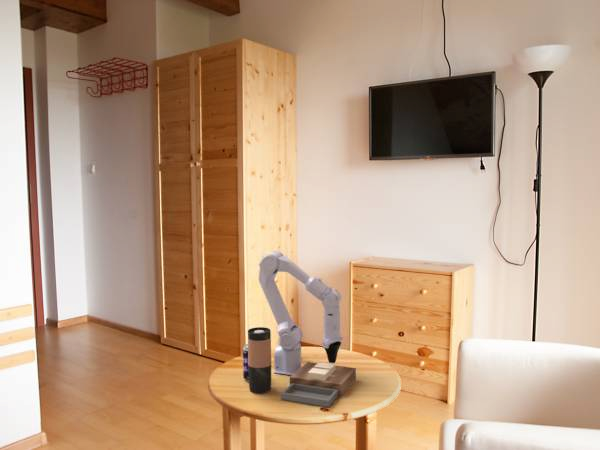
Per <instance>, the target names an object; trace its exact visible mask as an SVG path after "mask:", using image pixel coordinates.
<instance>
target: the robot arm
mask: <svg viewBox="0 0 600 450" xmlns="http://www.w3.org/2000/svg"><path fill="white" fill-rule="evenodd" d="M258 266H259V270H258V271H259V272H258V273H259V275H258V281H259V284H260V286H261V289H262V291H263V294H264V296H265V298H266V300H267V303H268V305H269V308H270V310H271V312H272V315H273V317H274V320H275V322H276V325H277V334H278V337H279V342H280V345H281V346H278V345H277V346H276V347H275V349H274V353H273V358H274V359H273V361H274V362H273V363H274V365H273V367H274V369H273V373H274V374H280V375H287V376H292V375H293V374H294V373H295V372H296V371H298V370H299V369H300V368H301V367H302V345H301V341H302V339H303V331H302V329H300V328H299V326H298V325H297V324H296V322H295V321H294V319H292V317H291V315H290V313H289V310H288V309H287V306H286V304H285V301H284V299H283V297H282V294H281V293H280V289H279V288H278V286H277V282H276V281H275V278H276V276H277V274H278V272H280V273H281V272H282V273H288V274H289V275H291V276H292V277H293V278H295V279H297V280H298V281H300V282H301V283H302V284H304V286H305V290H306V291H308V293H309V294H311V295H312V296H313V297H315V298H316V299H317V300H319V301H321V304H322V306H323V337H322V338H323V339H322V340H323V341H322V343H321V344H322V349H324V350H325V353H326V356H327V361H328V363H329V364H335V363H336V362H337V357H338V352H339V351H340V347H341V345H342V341H343V340H344V337H342V332H341V311H340V309H341V308H340V303H341V301H342V295H341V293H340V292H339V291H338V289H334V288H333V287H331V286H328V285H327V284H326V283H324V282H323V279H322V278H321V277H317V276H312V277H311V276H310V275H308V273H307V272H305V270H303V269H301V268H300V267H299V266H298V265H297V264H296V263H295V262H293V260H291V258H289V257H288V256H287V255H284V254H283V253H282V252H280V251H272V252H270V253H268V254H265V255H263V256H262V258H261V259H260V261H259V263H258Z"/></svg>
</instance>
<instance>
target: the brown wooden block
mask: <svg viewBox="0 0 600 450" xmlns="http://www.w3.org/2000/svg"><path fill="white" fill-rule="evenodd" d="M318 363H319V362H313V361H307V362H306V363H304V364H303V365H301V368H300V369H299V370H298V371H296V372H295V373H294V374H293V375H289V386H290V385H291V384H292V383H295V384H301V385H308V386H315V387H322V388H328V389H335V390H338V397H341V398H342V397H343V396H344V394H345V393H346V392H347V391H348V390H349V389H350V387H351V386H352V385H353V384H354V382H355V381H356V380H357V378H356V377H357V373H356V372H357V369H356V367H349V366H342V365H335V371H334V372H333V373H332V374H330V376H329V377H328V378H327V379H326V380H325V381H324V380H317V379H310V378H308V372H309V371H310V370H311V369H312V368H314V366H315V365H317V364H318Z"/></svg>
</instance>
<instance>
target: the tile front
mask: <svg viewBox="0 0 600 450" xmlns="http://www.w3.org/2000/svg"><path fill="white" fill-rule="evenodd" d="M329 376H330V370H325V369H318V368H312V369H311V370H310V371H309V372H308V378H310V379H317V380H324V381H325V380H326V379H327V378H328V377H329Z"/></svg>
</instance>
